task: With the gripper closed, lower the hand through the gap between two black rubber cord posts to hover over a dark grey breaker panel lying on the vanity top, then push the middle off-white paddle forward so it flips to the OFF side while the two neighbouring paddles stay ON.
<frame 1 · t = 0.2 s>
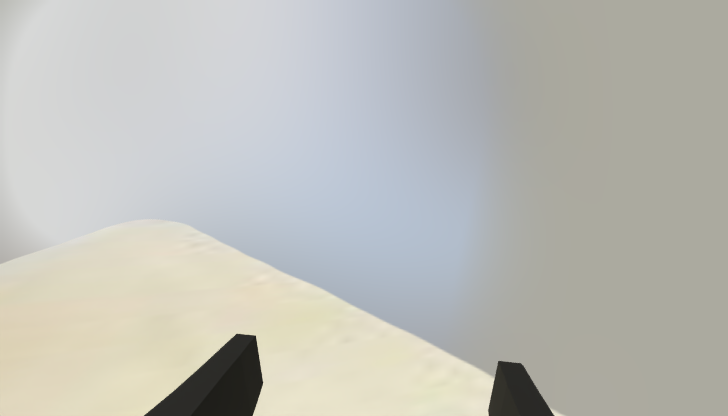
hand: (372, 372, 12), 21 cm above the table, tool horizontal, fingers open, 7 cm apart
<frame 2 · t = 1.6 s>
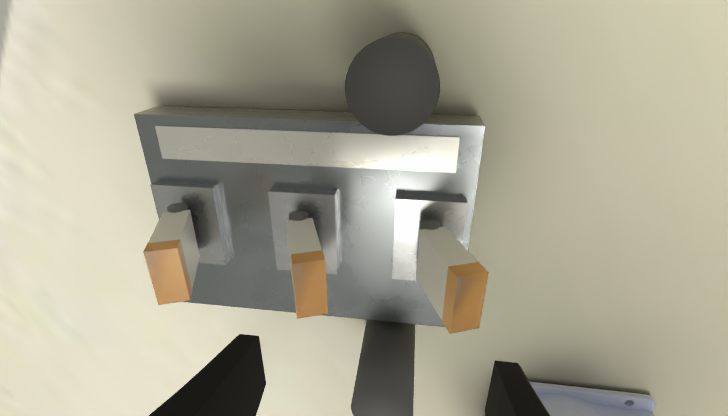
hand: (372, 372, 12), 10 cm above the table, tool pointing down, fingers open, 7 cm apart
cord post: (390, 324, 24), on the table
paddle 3: (176, 249, 18), point 5 cm above the table, hinge at -22.0°
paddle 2: (304, 260, 17), point 5 cm above the table, hinge at -22.0°
breaker panel: (316, 211, 21), on the table
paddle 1: (443, 271, 16), point 5 cm above the table, hinge at -22.0°
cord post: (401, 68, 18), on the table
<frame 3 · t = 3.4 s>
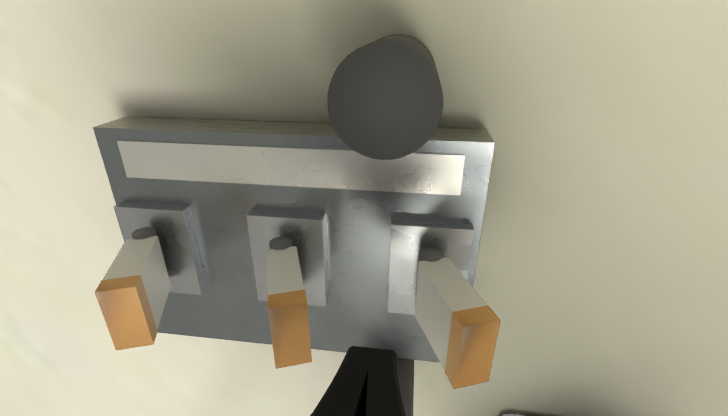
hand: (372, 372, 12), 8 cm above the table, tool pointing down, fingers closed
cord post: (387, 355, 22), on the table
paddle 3: (141, 283, 16), point 5 cm above the table, hinge at -22.0°
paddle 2: (286, 296, 15), point 5 cm above the table, hinge at -22.0°
breaker panel: (304, 233, 19), on the table
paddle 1: (446, 310, 14), point 5 cm above the table, hinge at -22.0°
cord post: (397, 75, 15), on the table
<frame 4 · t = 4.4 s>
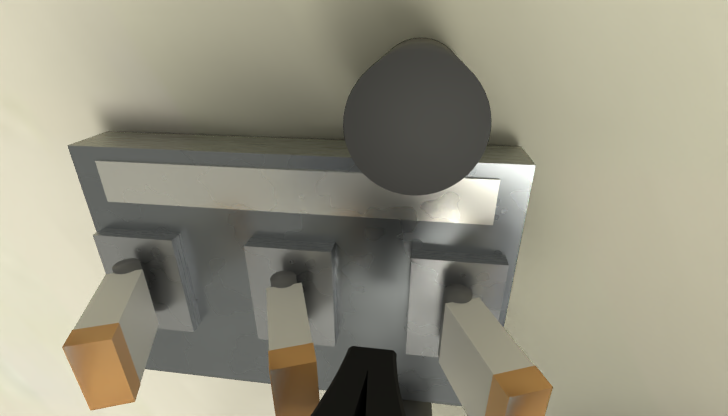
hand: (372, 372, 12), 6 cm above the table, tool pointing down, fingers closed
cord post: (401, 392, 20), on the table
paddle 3: (122, 326, 13), point 5 cm above the table, hinge at -22.0°
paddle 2: (290, 343, 13), point 5 cm above the table, hinge at -22.0°
breaker panel: (309, 261, 17), on the table
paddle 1: (479, 363, 12), point 5 cm above the table, hinge at -22.0°
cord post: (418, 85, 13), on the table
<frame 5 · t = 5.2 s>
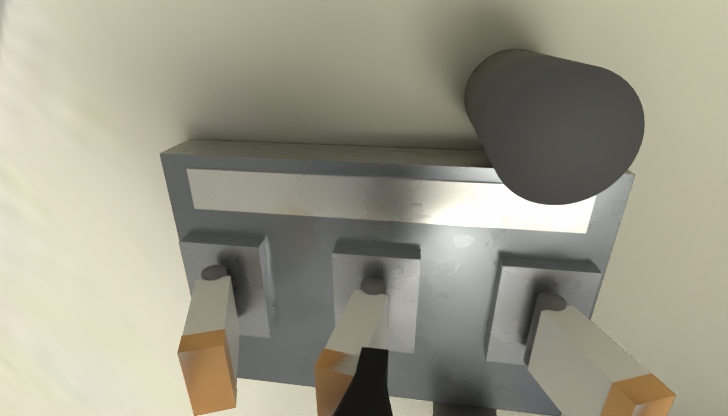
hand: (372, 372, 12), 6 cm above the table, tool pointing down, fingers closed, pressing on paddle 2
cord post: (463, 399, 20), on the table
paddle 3: (215, 332, 14), point 5 cm above the table, hinge at -22.0°
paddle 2: (359, 349, 13), point 5 cm above the table, hinge at 8.3°, touching gripper
breaker panel: (381, 268, 17), on the table
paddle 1: (579, 370, 12), point 5 cm above the table, hinge at -22.0°
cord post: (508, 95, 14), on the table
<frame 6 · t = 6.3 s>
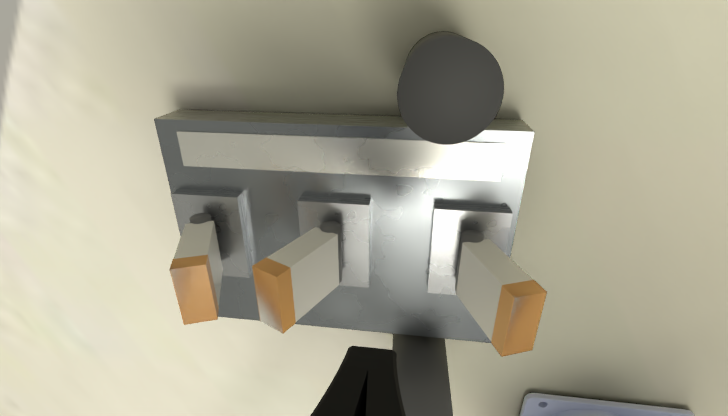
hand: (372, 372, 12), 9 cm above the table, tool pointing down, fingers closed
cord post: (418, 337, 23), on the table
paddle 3: (201, 264, 17), point 5 cm above the table, hinge at -22.0°
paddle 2: (306, 271, 16), point 5 cm above the table, hinge at 25.6°
breaker panel: (344, 220, 20), on the table
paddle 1: (489, 287, 15), point 5 cm above the table, hinge at -22.0°
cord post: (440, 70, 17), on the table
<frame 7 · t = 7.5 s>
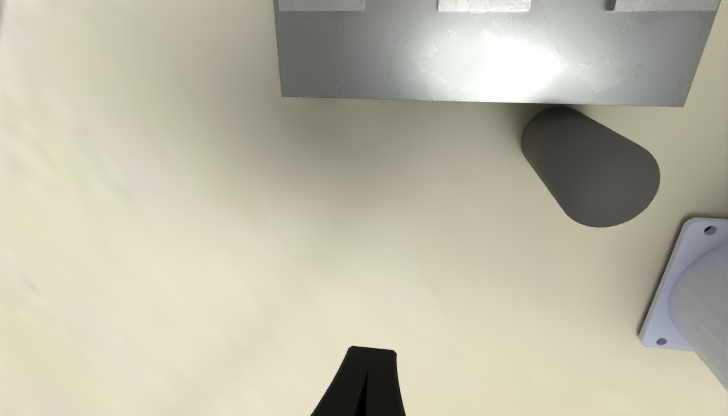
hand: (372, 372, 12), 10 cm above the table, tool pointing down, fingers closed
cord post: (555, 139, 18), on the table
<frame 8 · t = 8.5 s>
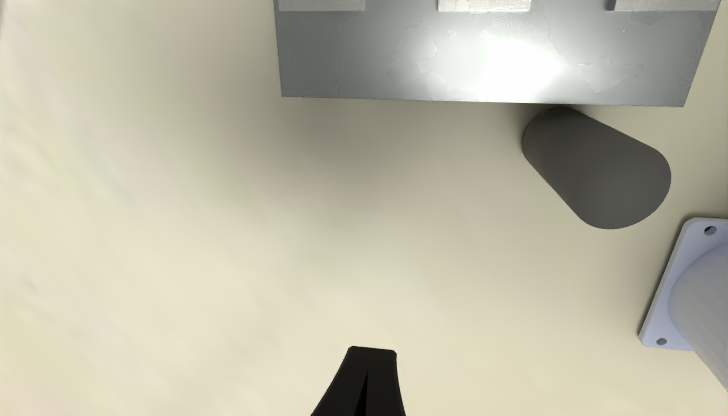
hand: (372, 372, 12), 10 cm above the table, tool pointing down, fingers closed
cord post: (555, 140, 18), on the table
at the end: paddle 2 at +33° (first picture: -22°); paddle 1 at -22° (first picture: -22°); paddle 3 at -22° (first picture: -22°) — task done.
